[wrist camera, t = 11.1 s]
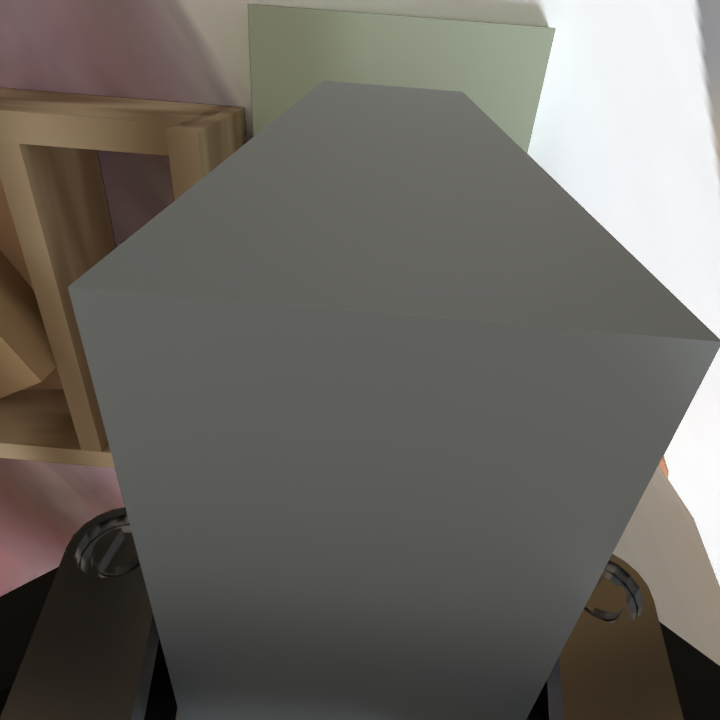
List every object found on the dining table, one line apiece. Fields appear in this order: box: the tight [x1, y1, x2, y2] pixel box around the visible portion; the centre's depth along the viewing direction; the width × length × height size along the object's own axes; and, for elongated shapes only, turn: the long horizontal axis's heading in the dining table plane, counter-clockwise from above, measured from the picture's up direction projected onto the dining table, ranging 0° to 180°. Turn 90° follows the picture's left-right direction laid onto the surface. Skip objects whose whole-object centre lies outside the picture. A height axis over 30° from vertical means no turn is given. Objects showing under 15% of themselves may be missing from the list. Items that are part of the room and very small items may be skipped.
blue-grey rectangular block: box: [68, 81, 720, 720], centre depth 12 cm, size 4×11×14 cm, turn 176°
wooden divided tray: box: [0, 88, 246, 468], centre depth 23 cm, size 16×16×6 cm
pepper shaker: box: [612, 456, 720, 666], centre depth 22 cm, size 7×7×19 cm
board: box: [248, 4, 555, 153], centre depth 23 cm, size 11×15×1 cm
